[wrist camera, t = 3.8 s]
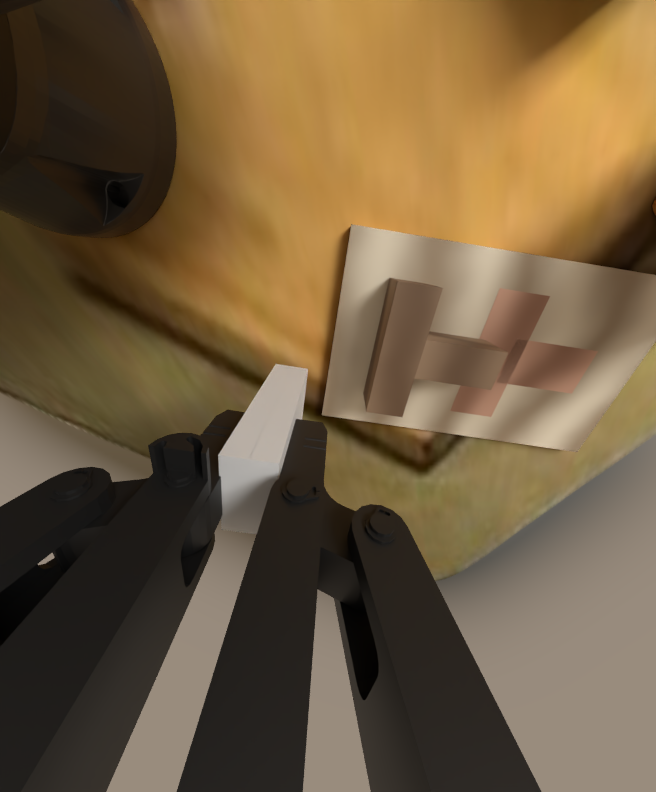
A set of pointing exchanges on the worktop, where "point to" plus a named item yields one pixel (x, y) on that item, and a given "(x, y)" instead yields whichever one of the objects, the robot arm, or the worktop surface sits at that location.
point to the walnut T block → (421, 350)
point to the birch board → (497, 336)
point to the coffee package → (654, 206)
